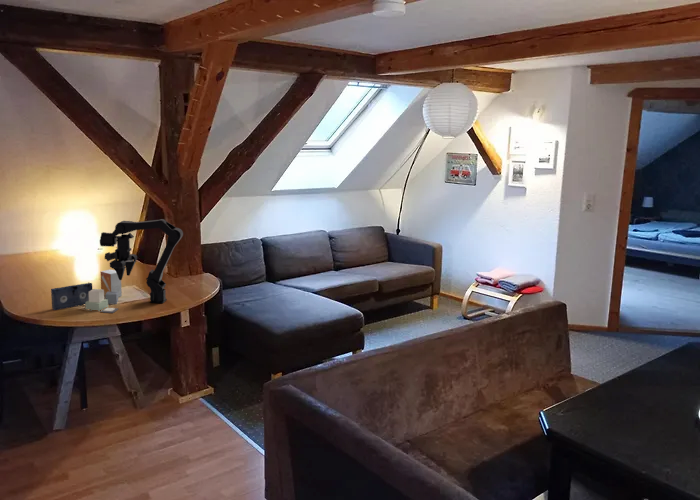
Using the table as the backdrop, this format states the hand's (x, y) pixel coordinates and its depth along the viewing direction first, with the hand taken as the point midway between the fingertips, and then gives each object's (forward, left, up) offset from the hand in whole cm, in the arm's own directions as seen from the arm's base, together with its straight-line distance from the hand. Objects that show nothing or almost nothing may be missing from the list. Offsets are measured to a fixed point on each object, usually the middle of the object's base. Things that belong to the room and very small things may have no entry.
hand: (124, 277), depth 272 cm
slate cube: (+5, +3, -12) cm, 14 cm away
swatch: (0, +16, -12) cm, 20 cm away
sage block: (+8, +14, -12) cm, 20 cm away
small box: (+10, -7, -12) cm, 17 cm away
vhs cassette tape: (+20, +12, -12) cm, 26 cm away
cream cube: (+8, +14, -8) cm, 18 cm away
